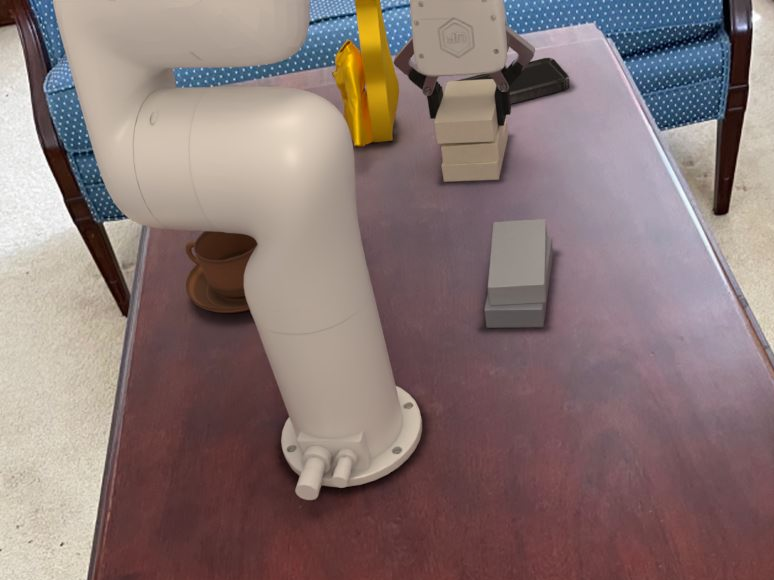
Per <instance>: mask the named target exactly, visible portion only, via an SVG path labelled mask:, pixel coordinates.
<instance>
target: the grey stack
mask: <svg viewBox="0 0 774 580" xmlns="http://www.w3.org/2000/svg"><path fill="white" fill-rule="evenodd" d="M553 257H554V247H553V237H552V236H548V229H547V218H535V219H521V220H520V219H519V220H518V219H517V220H506V221H493V222H492V234H491V245H490V257H489V265H488V266H489V268H488V278H487V295H486V300H485V305H484V309H483V312H484V319H485V327H486V328H487V329H488V328H489V329H490V328H491V329H492V328H493V329H494V328H495V329H496V328H498V329H499V328H500V329H502V328H506V329H507V328H544V326H545V319H546V311H547V303H548V295H549V290H550V289H549V288H550V281H551V274H552V273H551V272H552V265H553Z"/></svg>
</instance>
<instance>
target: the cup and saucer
mask: <svg viewBox="0 0 774 580" xmlns="http://www.w3.org/2000/svg"><path fill="white" fill-rule="evenodd" d="M257 245H258V244H257V241H256V240H255V239H254V238H253V237H251V236H249V235H245V234H238V233H225V232H213V231H202V233H200V235H198V237H197V239H195V241H194V240H191V241H188V242H187V243H186V245H185V248H184V249H185V253H186V255H187V257H188V259H190V261H192V263H194V264H196V265H195V266H194V267H193V268H192V269H191V271H190V272H189V274H188V276H187V277H186V280H185V291H186V294H187V296H188V298H189V300H191V301H192V303H194V304H195V305H196V306H198V307H199V308H201V309H204V310H205V311H211V312H214V313H220V314H234V313H235V314H236V313H244V312H248V311H250V309H249V306H248V303H247V300H246V296H245V292H244V273H245V269H246V265H247V263H248V261H249V258H250V257H251V255H252V253H253V251H254V250H255V248H256V246H257ZM192 249H193V251H194V253H193V251H192Z"/></svg>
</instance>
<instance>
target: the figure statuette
mask: <svg viewBox="0 0 774 580" xmlns="http://www.w3.org/2000/svg"><path fill="white" fill-rule="evenodd" d="M381 2H382V1H381V0H354V5H355V13H356V22H357V30H358V31H357V32H358V39H359V48H358V47H357V45H355V44H354V42H353V41H352V40H350V39H347V40H345V42H344V43H343V44H342V46H341V47H340V49H339V50H338V52H337V53H336V55H335V56H334V57H335V58H334V63H335V69H334V71H333V72H331V74H332V77H333V78H334V82H335V85H336V87H337V89H338V90H339V92H340V95H341V99H342V102H343V113H344V114H343V117H344V119H345V120H346V123H347V125H348V127H349V130H350V134H351V138H352V143H353V147H355V148H363V147H365V148H366V145H368V144H371V143H382V142H383V143H384V142H392V141H393V137H394V136H393V131H394V124H395V120H396V115H397V110H398V104H399V99H400V84H399V80H398V76H397V72H396V69H395V65H394V60H393V57H392V55H391V51H390V46H389V41H388V37H387V30H386V26H385V20H384V16H383V11H382V3H381Z"/></svg>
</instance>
